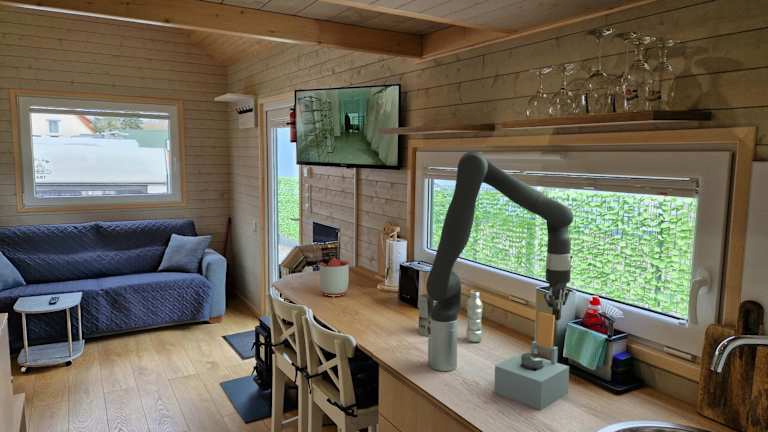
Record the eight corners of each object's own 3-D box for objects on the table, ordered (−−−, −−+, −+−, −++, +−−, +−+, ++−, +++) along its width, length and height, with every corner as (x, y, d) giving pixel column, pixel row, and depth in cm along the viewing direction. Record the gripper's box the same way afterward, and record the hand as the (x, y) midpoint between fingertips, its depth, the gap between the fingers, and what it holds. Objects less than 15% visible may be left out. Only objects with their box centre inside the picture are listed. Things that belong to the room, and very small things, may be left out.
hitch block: (494, 392, 164) (495, 350, 163) (522, 377, 175) (523, 337, 174) (540, 410, 153) (542, 365, 151) (568, 392, 164) (569, 350, 162)
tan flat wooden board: (538, 312, 168) (541, 312, 169) (535, 349, 169) (538, 348, 170) (553, 316, 164) (555, 315, 165) (550, 353, 165) (552, 352, 166)
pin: (516, 390, 164) (517, 356, 163) (527, 384, 169) (528, 351, 167) (534, 397, 160) (535, 362, 158) (545, 391, 164) (546, 356, 163)
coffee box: (429, 337, 214) (429, 298, 212) (418, 333, 219) (418, 295, 217) (444, 332, 219) (445, 294, 217) (433, 328, 224) (434, 291, 222)
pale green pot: (336, 288, 291) (335, 252, 289) (355, 295, 278) (355, 257, 275) (311, 293, 281) (311, 256, 279) (330, 300, 268) (330, 261, 265)
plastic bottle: (470, 344, 205) (471, 294, 203) (463, 338, 212) (463, 290, 209) (485, 343, 207) (486, 293, 205) (477, 337, 213) (478, 288, 211)
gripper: (558, 271, 162) (556, 326, 164) (579, 265, 171) (577, 317, 173) (536, 268, 167) (535, 321, 169) (557, 262, 176) (556, 313, 178)
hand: (556, 319), depth 171 cm, fingers closed
